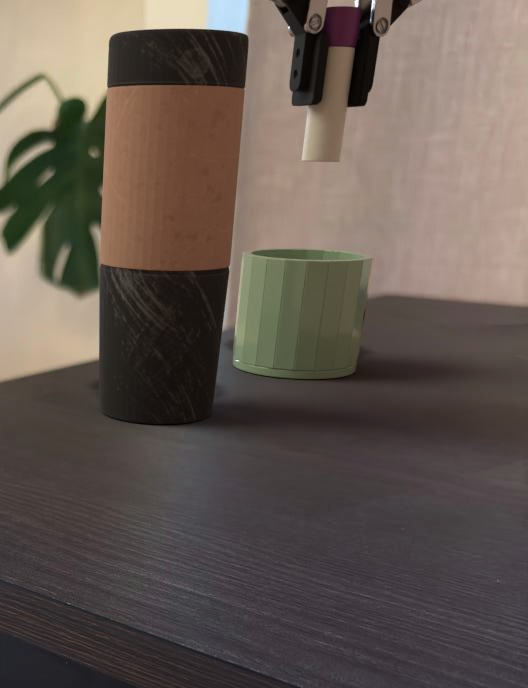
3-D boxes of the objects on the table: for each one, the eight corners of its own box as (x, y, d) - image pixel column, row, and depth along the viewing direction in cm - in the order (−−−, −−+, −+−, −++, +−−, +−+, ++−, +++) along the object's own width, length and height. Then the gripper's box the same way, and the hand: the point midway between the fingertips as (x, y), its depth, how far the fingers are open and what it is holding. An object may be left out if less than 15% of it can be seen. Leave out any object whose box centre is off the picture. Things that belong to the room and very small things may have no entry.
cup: (318, 353, 77) (333, 247, 74) (379, 376, 69) (398, 259, 66) (213, 357, 75) (223, 248, 72) (263, 381, 67) (277, 261, 64)
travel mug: (241, 415, 59) (282, 35, 50) (147, 432, 55) (171, 24, 46) (161, 391, 64) (184, 46, 55) (70, 405, 61) (78, 37, 51)
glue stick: (328, 161, 68) (348, 12, 64) (347, 162, 66) (369, 7, 62) (294, 160, 67) (312, 10, 63) (311, 161, 65) (332, 5, 61)
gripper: (456, -213, 61) (403, 111, 70) (223, -240, 58) (197, 104, 66) (534, -256, 55) (465, 107, 63) (277, -288, 51) (240, 100, 60)
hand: (328, 103), depth 65 cm, fingers closed on glue stick, 2 cm apart
